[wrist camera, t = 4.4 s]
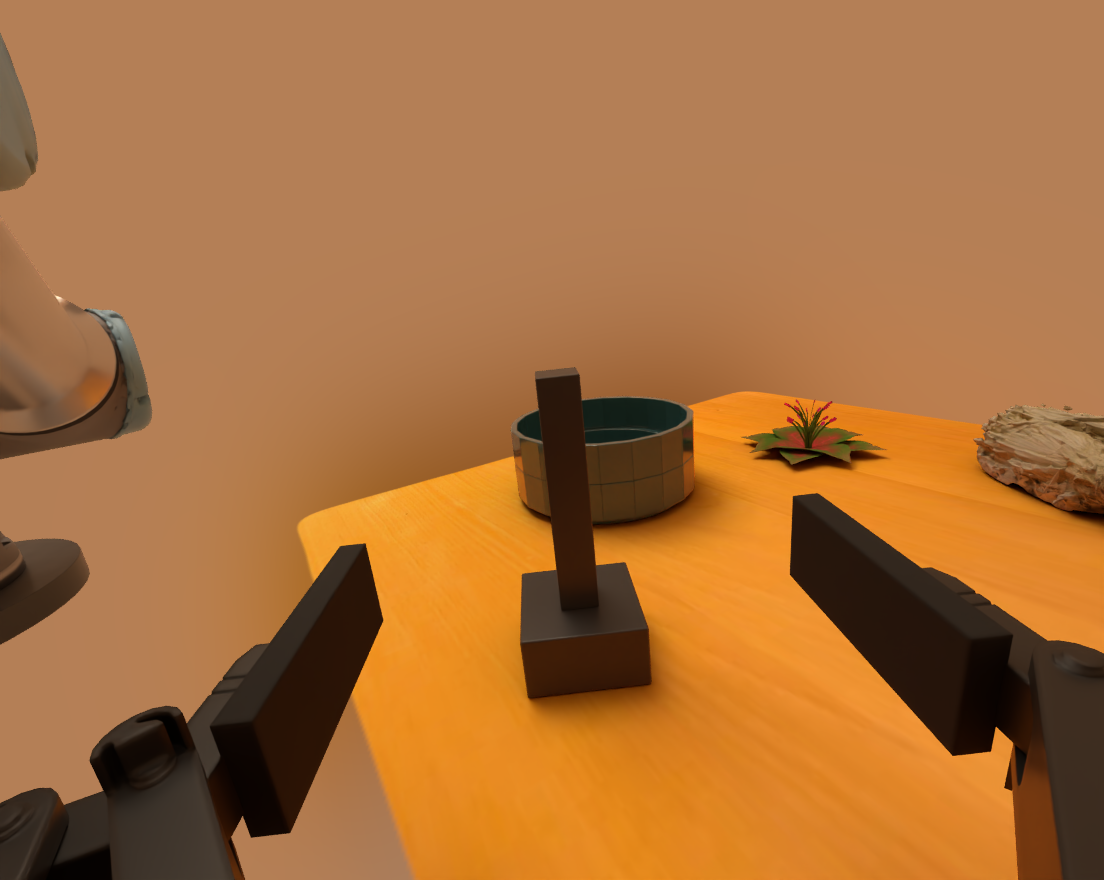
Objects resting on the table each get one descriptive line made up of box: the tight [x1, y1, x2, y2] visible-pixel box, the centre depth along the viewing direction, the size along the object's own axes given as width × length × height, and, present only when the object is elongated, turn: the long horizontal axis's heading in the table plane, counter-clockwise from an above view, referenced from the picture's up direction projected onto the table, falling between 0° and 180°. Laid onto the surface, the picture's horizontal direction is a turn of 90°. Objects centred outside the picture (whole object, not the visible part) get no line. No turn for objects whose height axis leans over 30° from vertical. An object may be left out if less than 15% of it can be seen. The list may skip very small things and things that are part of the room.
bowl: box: [511, 396, 695, 524], centre depth 44 cm, size 15×15×6 cm
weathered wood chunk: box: [973, 404, 1104, 513], centre depth 35 cm, size 14×10×5 cm, turn 176°
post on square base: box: [520, 367, 651, 698], centre depth 24 cm, size 6×6×14 cm
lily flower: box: [742, 400, 886, 465], centre depth 48 cm, size 12×12×5 cm
